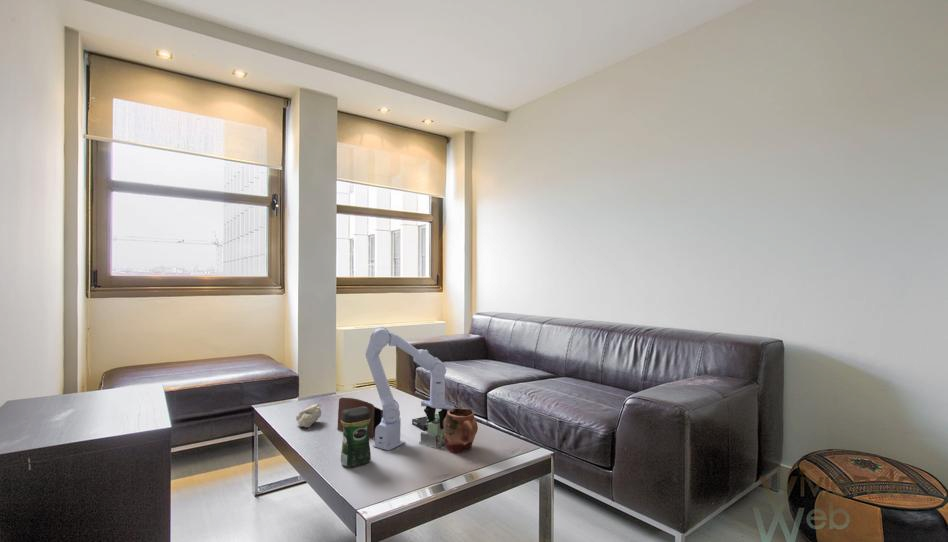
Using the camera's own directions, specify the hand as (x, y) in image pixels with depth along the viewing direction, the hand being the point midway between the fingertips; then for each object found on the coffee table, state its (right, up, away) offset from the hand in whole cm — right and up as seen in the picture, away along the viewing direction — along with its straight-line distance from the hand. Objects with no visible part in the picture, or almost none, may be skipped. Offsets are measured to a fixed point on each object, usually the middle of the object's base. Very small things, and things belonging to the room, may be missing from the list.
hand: (437, 427), depth 170 cm
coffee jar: (-26, -5, -21) cm, 34 cm away
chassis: (0, -5, 0) cm, 5 cm away
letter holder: (-31, -5, +10) cm, 33 cm away
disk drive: (-4, -6, +19) cm, 20 cm away
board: (0, -2, 0) cm, 2 cm away
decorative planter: (+9, -5, -9) cm, 14 cm away
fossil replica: (-56, -5, +17) cm, 59 cm away
